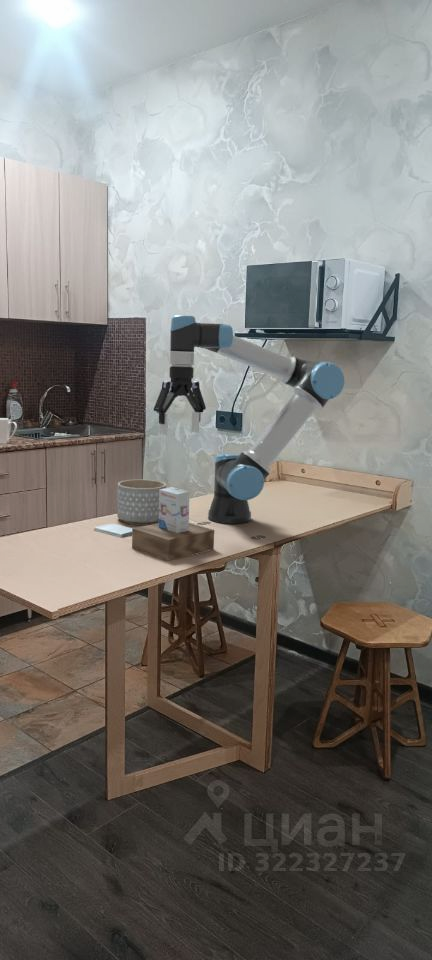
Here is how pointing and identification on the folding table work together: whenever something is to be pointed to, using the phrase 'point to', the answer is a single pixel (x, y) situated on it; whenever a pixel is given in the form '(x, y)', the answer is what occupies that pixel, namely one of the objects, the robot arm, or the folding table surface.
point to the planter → (139, 501)
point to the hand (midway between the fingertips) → (179, 433)
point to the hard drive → (114, 530)
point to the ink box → (174, 509)
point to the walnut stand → (172, 541)
